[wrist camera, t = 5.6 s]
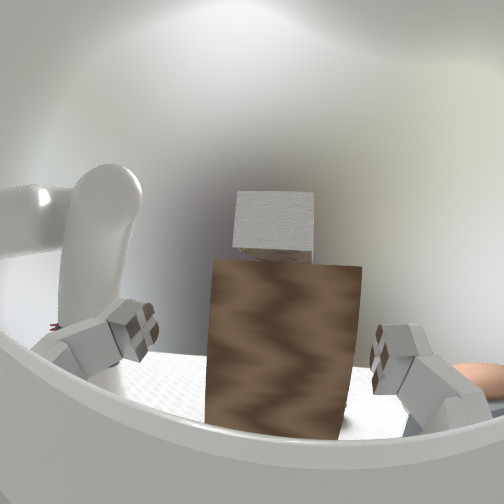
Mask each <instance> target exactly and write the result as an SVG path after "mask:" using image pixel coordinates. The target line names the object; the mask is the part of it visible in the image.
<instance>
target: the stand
mask: <svg viewBox="0 0 504 504" xmlns="http://www.w3.org/2000/svg"><path fill="white" fill-rule="evenodd" d="M361 280H362V267H358V266H338V265H318V264H300V263H282V262H264V261H246V260H229V259H214V262H213V273H212V285H211V299H210V313H209V329H208V346H207V366H206V390H205V423H206V424H210V425H214V426H219V427H223V428H228V429H233V430H239V431H244V432H250V433H257V434H264V435H271V436H279V437H289V438H300V439H316V440H338V437H339V433H340V429H341V425H342V420H343V416H344V411H345V406H346V401H347V396H348V391H349V385H350V379H351V373H352V367H353V360H354V353H355V345H356V337H357V328H358V318H359V308H360V295H361Z"/></svg>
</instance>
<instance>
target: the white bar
mask: <svg viewBox="0 0 504 504" xmlns="http://www.w3.org/2000/svg"><path fill="white" fill-rule="evenodd" d="M313 230H314V193H313V192H282V191H281V192H280V191H238V192H237V202H236V213H235V224H234V235H233V246H232V247H233V248H235V249H237V250H239V251H241V252H243V253H245V254H248V255H249V256H251V257H253V258H255V259H257V260H259V261H264V262H282V263H300V264H312V262H313V232H314V231H313Z"/></svg>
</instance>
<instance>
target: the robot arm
mask: <svg viewBox="0 0 504 504" xmlns="http://www.w3.org/2000/svg"><path fill="white" fill-rule="evenodd" d="M141 204H142V191H141V187H140V184H139V182H138V180H137V179H136V177H135V176H134V175H133V174H132V172H130V171H129V170H128V169H126V168H125V167H122V166H120V165H116V164H104V165H100V166H98V167H96V168H94V169H92V170H90V171H89V172H87V173H86V174H85V175H84V176H83V177H81V178H80V180H79V181H78V182H77V183H76V185H75V187H74V188H59V187H46V186H40V185H37V184H30V185H23V186H16V187H9V188H3V189H0V259H6V258H11V257H17V256H23V255H29V254H35V253H42V252H50V251H58V250H62V254H61V264H60V275H59V292H58V323H57V324H50V326H55V328H52V329H50V331H54V332H51V333H48V334H47V335H45V336H44V337H43V338H42V339H41V340H40V341H39V342H38V343H37V344H36V345H35V346H34V347H33V348H32V349H28V348H27V347H25V346H24V345H22V344H21V343H19V342H18V341H16V340H15V339H13V338H12V337H11V336H9V335H8V334H7V333H5V332H4V331H2V330H1V329H0V504H504V415H503V416H500V417H497V418H493V417H492V414H491V411H490V408H489V405H488V402H487V400H486V397H485V394H484V392H483V390H482V389H480V388H479V387H478V386H477V385H475V384H474V383H473V382H472V381H470V380H469V379H468V378H466V377H465V376H464V375H463V374H461V373H460V372H459V371H458V370H456V369H455V368H454V367H452V366H451V365H450V364H448V363H447V362H446V361H445V360H443V359H442V358H441V357H439V356H438V355H433V352H432V349H431V347H430V344H429V342H428V340H427V337H426V335H425V332H424V330H423V328H422V325H420V324H406V325H379V326H378V328H377V331H376V338H377V341H376V342H375V343H373V345H372V349H371V354H370V370H371V371H372V372H373V373H374V375H373V378H372V387H373V395H397V397H398V398H399V399H400V401H401V402H402V403H403V404H404V406H405V407H406V408H407V410H408V411H409V412H410V413H411V415H412V416H413V417H414V418H415V420H416V421H417V422H418V423H419V425H420V426H421V427H422V429H423V430H422V432H421V433H420V434H419V435H417V436H409V437H400V438H389V439H374V440H316V439H300V438H289V437H279V436H271V435H264V434H257V433H250V432H244V431H239V430H233V429H228V428H223V427H219V426H214V425H210V424H206V423H201V422H198V421H194V420H190V419H186V418H183V417H179V416H176V415H172V414H169V413H166V412H163V411H160V410H157V409H154V408H151V407H148V406H145V405H142V404H139V403H137V402H134V401H131V400H129V398H128V395H127V392H126V388H125V385H124V380H123V375H122V369H121V363H120V360H122V358H125V359H128V360H132V361H135V362H139V363H140V362H141V360H142V359H143V358H144V356H145V355H146V354H147V352H148V349H147V347H149V346H151V345H153V344H154V342H155V341H156V340H157V337H158V333H159V327H158V323H157V321H156V320H155V319H154V317H153V315H154V313H155V312H154V309H153V306H152V305H151V304H150V303H147V302H142V301H137V300H133V299H127V298H122V297H120V291H121V282H122V276H123V271H124V267H125V263H126V259H127V255H128V251H129V246H130V242H131V238H132V233H133V229H134V225H135V221H136V219H137V216H138V213H139V211H140V208H141Z"/></svg>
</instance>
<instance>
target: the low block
mask: <svg viewBox="0 0 504 504" xmlns="http://www.w3.org/2000/svg"><path fill="white" fill-rule="evenodd" d="M452 367H454V368H455V369H456V370H458V371H459V372H460V373H461V374H463V375H464V376H465V377H466V378H468V379H469V380H470V381H472V382H473V383H474V384H475V385H477V386H478V387H479V388H480V389H482V390H483V392H484V394H485V397H486V400H487V402H488V405H489V408H490V411H491V414H492V417H493V418H497V417H500V416H503V415H504V366H502V365H497V364H488V363H464V364H457V365H452ZM422 430H423V429H422V427H421V426H420V425H419V423H418V422H417V421H416V420H415V418H414V417H413V416H412V415H411V413H410V414H409V417H408V421H407V424H406V427H405V431H404V434H403V437H409V436H417V435H419V434H420V433H421V432H422Z"/></svg>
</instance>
